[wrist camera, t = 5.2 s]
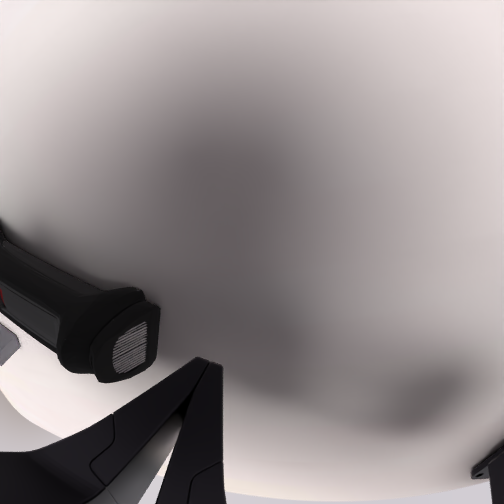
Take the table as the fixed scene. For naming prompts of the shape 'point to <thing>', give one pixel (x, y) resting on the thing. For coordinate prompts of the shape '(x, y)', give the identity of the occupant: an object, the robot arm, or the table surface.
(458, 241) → the table surface
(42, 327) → the electric trimmer
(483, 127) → the table surface
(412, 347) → the table surface
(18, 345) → the charging dock
